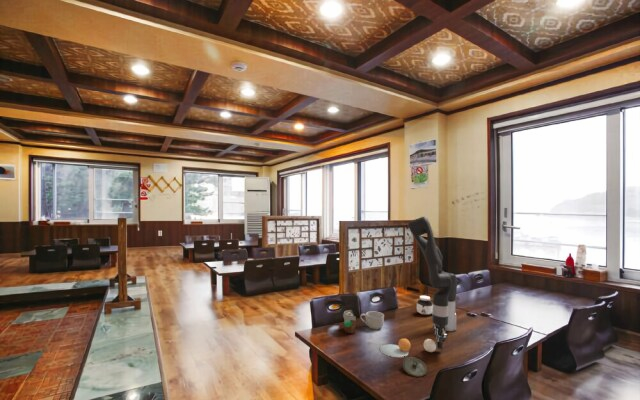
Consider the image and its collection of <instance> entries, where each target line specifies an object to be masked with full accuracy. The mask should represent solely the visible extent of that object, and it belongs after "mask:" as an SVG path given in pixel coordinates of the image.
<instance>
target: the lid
mask: <svg viewBox="0 0 640 400" xmlns="http://www.w3.org/2000/svg"><path fill="white" fill-rule="evenodd" d="M401 367H402V369H403V370H404V371H405V373H406V374H408V375H409V376H412V377H415V378H417V377H418V378H420V377H423V376H425V375H426V374H427V372H428V366H427V364H426V363H425V362H424V361H422V360H421V359H420V358H418V357H414V356H405V357H404V358H403V360H402V361H401Z"/></svg>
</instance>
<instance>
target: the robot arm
mask: <svg viewBox="0 0 640 400" xmlns="http://www.w3.org/2000/svg"><path fill="white" fill-rule="evenodd" d="M408 229H409V231H410V232H411V234H412V236H413V238H414V239H415V241H416V242H417V244H418V246H419V248H420V250H421V252H422V254H423V256H424V258H425V261H426V265H427V267H428V278H429V283H430V285H431V286H432V288H434V289H439V290H438V291H435V292H434V293H433V295H432V296H433V297H432V304H433V308H432V314H431V315H432V317H431V321H432V323H433V324H434V325H432V328H433V333H434V338H436V339H435V340H436V349H438V350H443V343H445V342H446V340H447V338H448V334H447V333H446V332H454V331H457V316H458V315H457V313H456V297H457V293H458V292H457V289H458V288H457V286H458V277H457V275H456V274H454V273H452V272H445V271H444V270H443V267H444V266H443V254H442V253H441V250H440V248H439V246H437V244H436V240H435V237H434V233H433V229H432V226H431V223H430V221H429V219H428V218H427V216H420V217H418V218H415V219H413V220H410V221H409V222H408ZM425 234H426V236H427V237H426V238H427V239H425V238H424V237H423V236H422V235H425Z"/></svg>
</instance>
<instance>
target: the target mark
mask: <svg viewBox="0 0 640 400" xmlns="http://www.w3.org/2000/svg"><path fill="white" fill-rule="evenodd" d="M379 351H380V352H381V353H382V354H384V355H385V356H387V357H390V356H391V357H392V358H405V357H408V355H409V350H408V351H406V352H405V351H402V350H401V349H400V348H399V346H398V344H393V343H389V344H383V345H381V346H380V347H379ZM404 356H405V357H404Z"/></svg>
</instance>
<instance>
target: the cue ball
mask: <svg viewBox="0 0 640 400" xmlns="http://www.w3.org/2000/svg"><path fill="white" fill-rule="evenodd" d="M423 347H424V350H425V351H426V352H428V353H433V352H435V351H436V349H437V342H435V340H433V339H431V338H426V339H425V340H424V341H423Z"/></svg>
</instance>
